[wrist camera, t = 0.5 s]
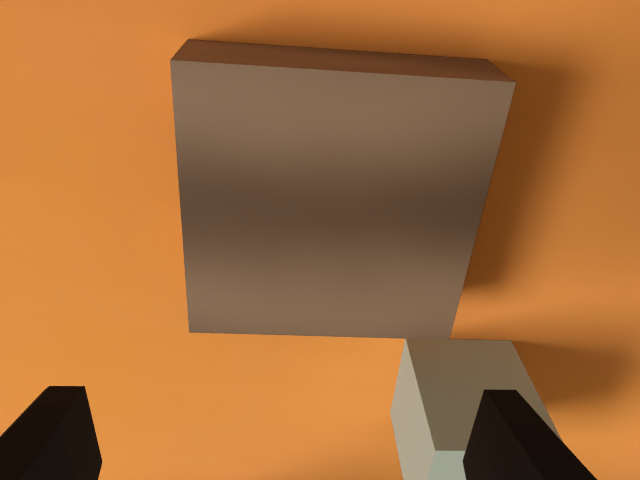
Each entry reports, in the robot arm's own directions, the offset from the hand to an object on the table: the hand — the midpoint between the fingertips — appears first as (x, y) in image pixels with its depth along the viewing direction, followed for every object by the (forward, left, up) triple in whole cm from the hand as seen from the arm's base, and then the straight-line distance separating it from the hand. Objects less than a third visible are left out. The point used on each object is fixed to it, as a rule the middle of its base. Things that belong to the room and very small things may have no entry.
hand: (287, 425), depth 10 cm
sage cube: (-9, -7, -10) cm, 15 cm away
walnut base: (0, -1, -10) cm, 10 cm away
